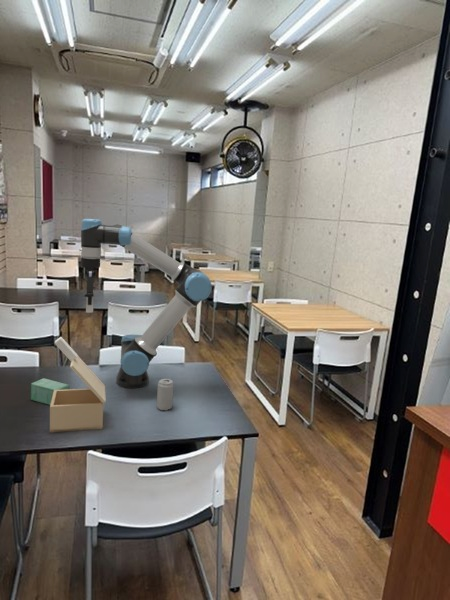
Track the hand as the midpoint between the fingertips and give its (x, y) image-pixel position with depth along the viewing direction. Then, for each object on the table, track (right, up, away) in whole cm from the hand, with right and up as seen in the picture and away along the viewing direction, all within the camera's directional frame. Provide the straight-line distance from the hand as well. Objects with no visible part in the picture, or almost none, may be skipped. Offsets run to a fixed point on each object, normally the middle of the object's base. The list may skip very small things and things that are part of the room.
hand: (89, 308), depth 167 cm
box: (-16, -38, 0) cm, 42 cm away
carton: (0, -42, -15) cm, 45 cm away
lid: (+3, -22, -19) cm, 29 cm away
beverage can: (+31, -42, +2) cm, 52 cm away
